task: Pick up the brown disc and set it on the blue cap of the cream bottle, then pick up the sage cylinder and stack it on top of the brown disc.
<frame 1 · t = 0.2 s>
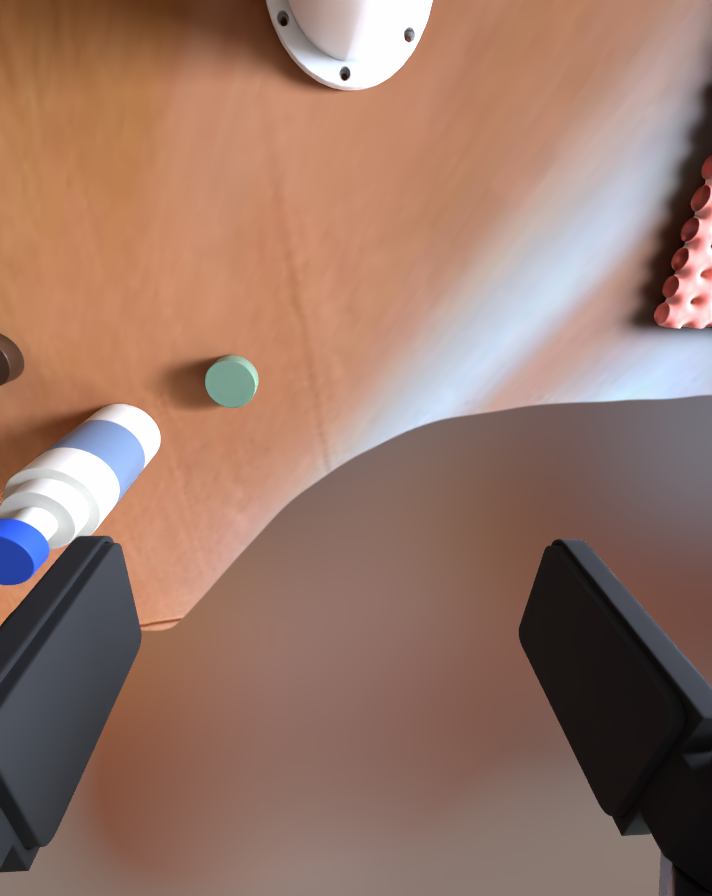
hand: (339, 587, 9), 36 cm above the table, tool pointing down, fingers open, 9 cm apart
sage cylinder: (234, 378, 44), on the table
cream bottle: (126, 434, 46), on the table
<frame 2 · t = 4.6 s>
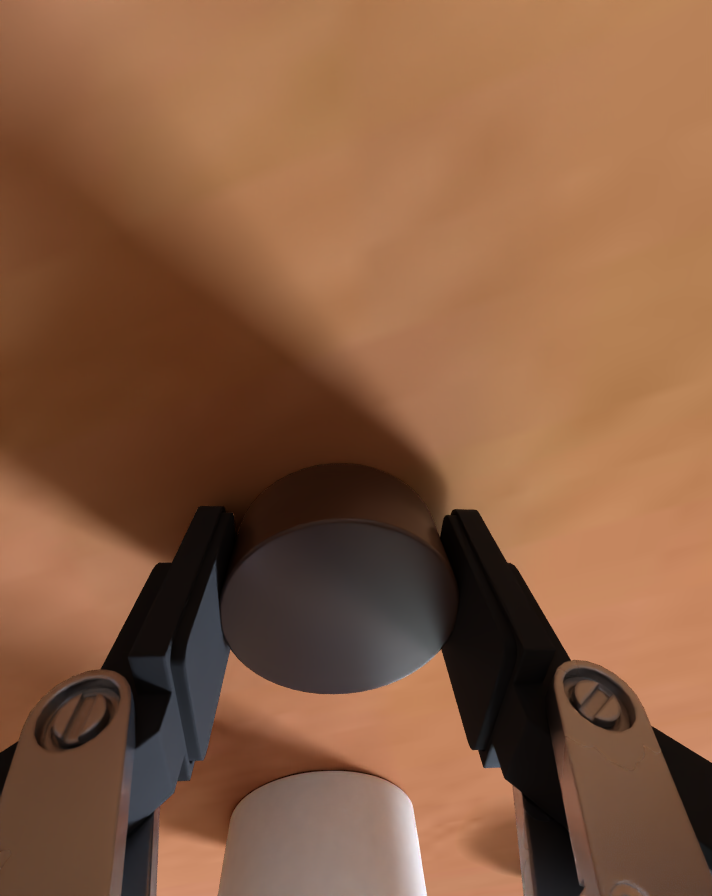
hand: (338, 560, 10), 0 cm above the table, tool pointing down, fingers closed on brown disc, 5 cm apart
cream bottle: (323, 820, 17), on the table
brown disc: (338, 548, 11), on the table, touching gripper
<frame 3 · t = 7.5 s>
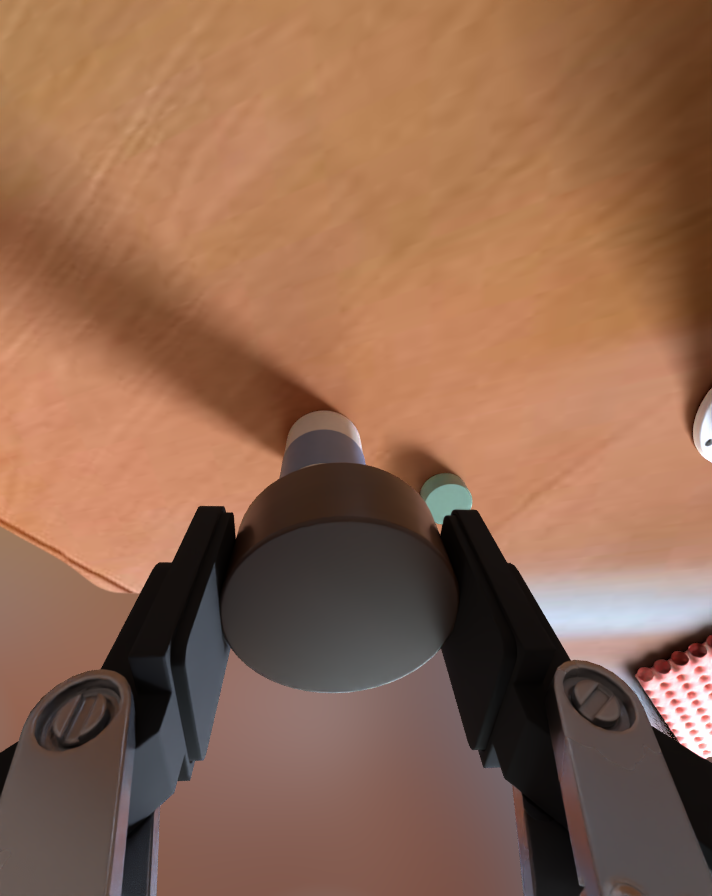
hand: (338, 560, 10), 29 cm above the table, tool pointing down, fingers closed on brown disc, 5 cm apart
sage cylinder: (442, 493, 45), on the table
cream bottle: (323, 444, 41), on the table
brown disc: (338, 547, 11), point 29 cm above the table, touching gripper
when the fingers open (21 cm above the table, at t = 10.8 s): brown disc stays where it is, resting on cream bottle.
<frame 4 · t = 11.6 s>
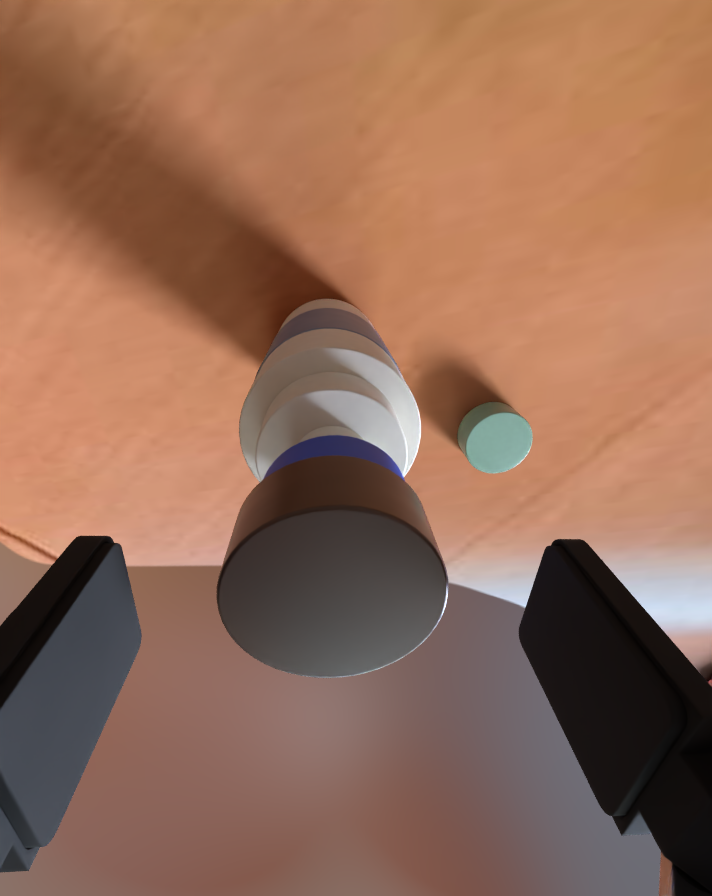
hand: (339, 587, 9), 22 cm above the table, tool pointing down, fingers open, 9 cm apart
sage cylinder: (488, 431, 33), on the table
cream bottle: (327, 353, 29), on the table, touching brown disc
brown disc: (332, 538, 11), point 20 cm above the table, touching cream bottle
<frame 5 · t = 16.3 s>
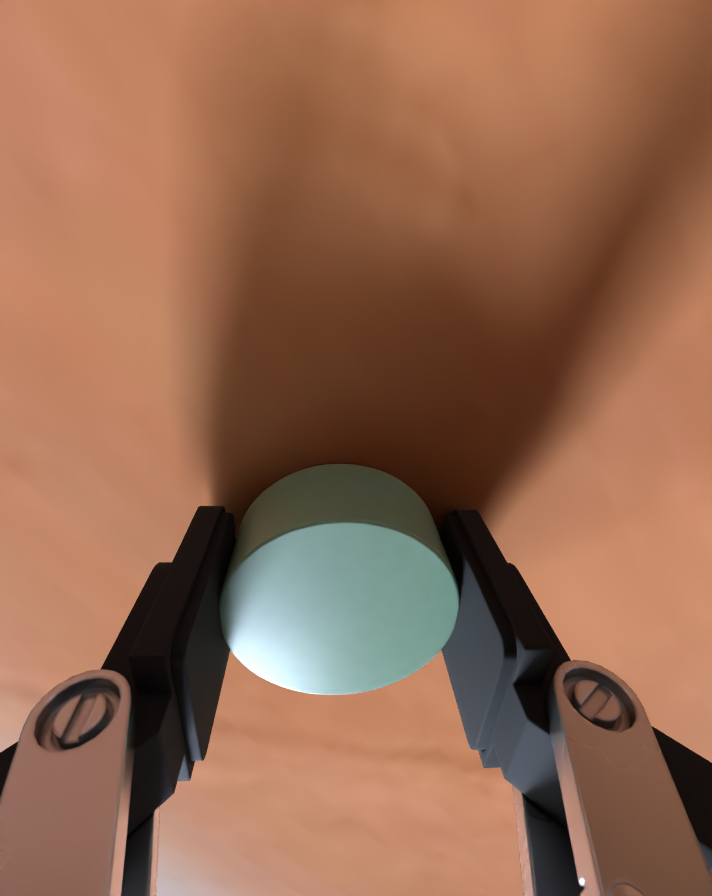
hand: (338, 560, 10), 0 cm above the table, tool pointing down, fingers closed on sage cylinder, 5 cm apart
sage cylinder: (338, 549, 11), on the table, touching gripper
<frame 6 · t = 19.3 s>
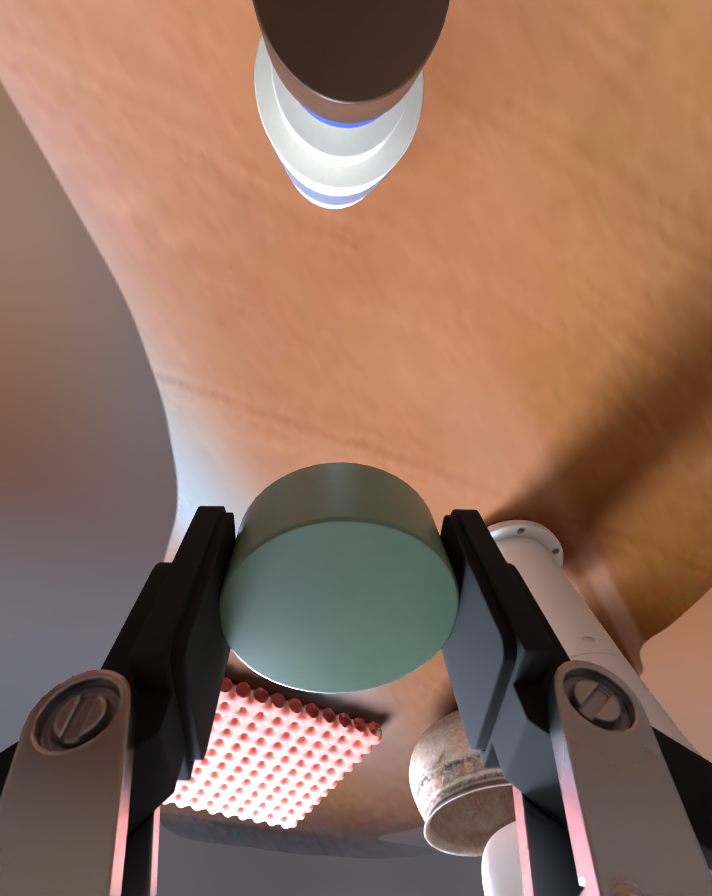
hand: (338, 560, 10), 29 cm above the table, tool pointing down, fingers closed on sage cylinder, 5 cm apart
pink perforated square mat: (252, 750, 63), on the table
sage cylinder: (338, 548, 11), point 28 cm above the table, touching gripper
cream bottle: (333, 151, 30), on the table, touching brown disc
cooking pot: (463, 719, 63), on the table
brown disc: (347, 17, 12), point 20 cm above the table, touching cream bottle
when the fingers open (23 cm above the table, at t = 22.2 s): sage cylinder stays where it is, resting on brown disc.
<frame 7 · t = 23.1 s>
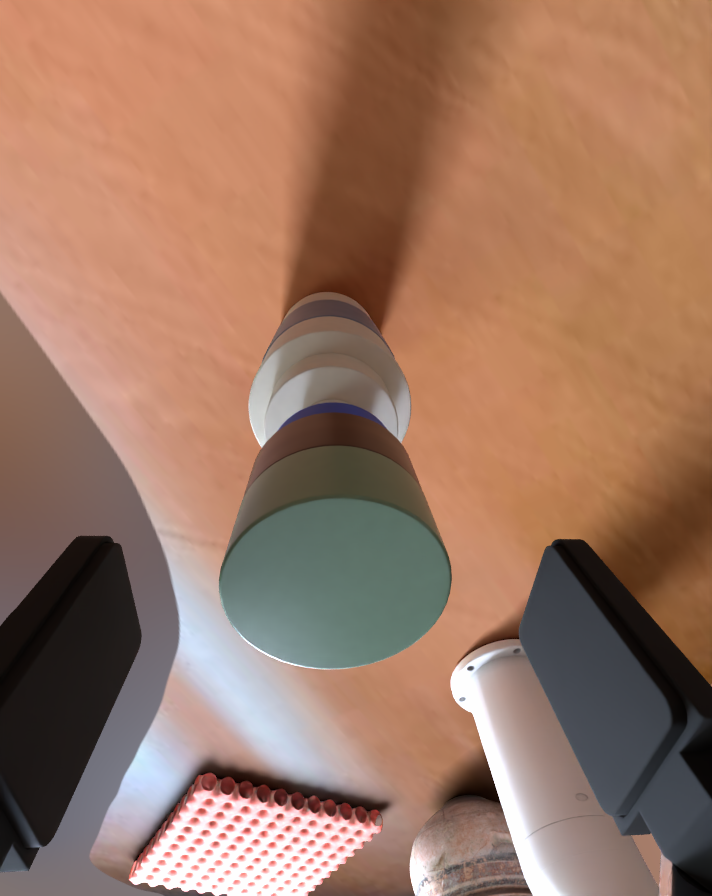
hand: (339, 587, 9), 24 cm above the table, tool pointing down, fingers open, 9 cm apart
pink perforated square mat: (255, 836, 63), on the table
sage cylinder: (335, 530, 11), point 22 cm above the table, touching brown disc
cream bottle: (328, 343, 31), on the table, touching brown disc
cooking pot: (463, 804, 64), on the table
brown disc: (333, 486, 13), point 20 cm above the table, touching cream bottle, sage cylinder
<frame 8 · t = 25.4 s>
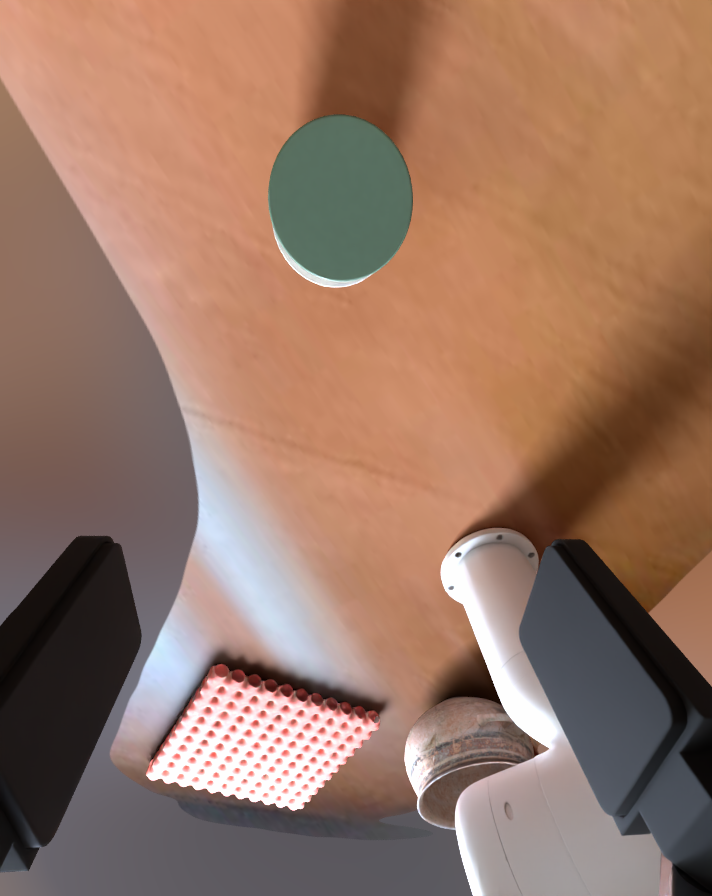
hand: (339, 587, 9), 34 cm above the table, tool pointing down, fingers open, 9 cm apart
pink perforated square mat: (262, 737, 69), on the table
sage cylinder: (339, 208, 16), point 22 cm above the table, touching brown disc
cream bottle: (331, 227, 37), on the table, touching brown disc
cooking pot: (455, 708, 69), on the table
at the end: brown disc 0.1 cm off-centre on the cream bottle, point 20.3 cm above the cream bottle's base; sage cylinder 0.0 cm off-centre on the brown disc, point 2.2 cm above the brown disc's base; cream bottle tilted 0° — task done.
